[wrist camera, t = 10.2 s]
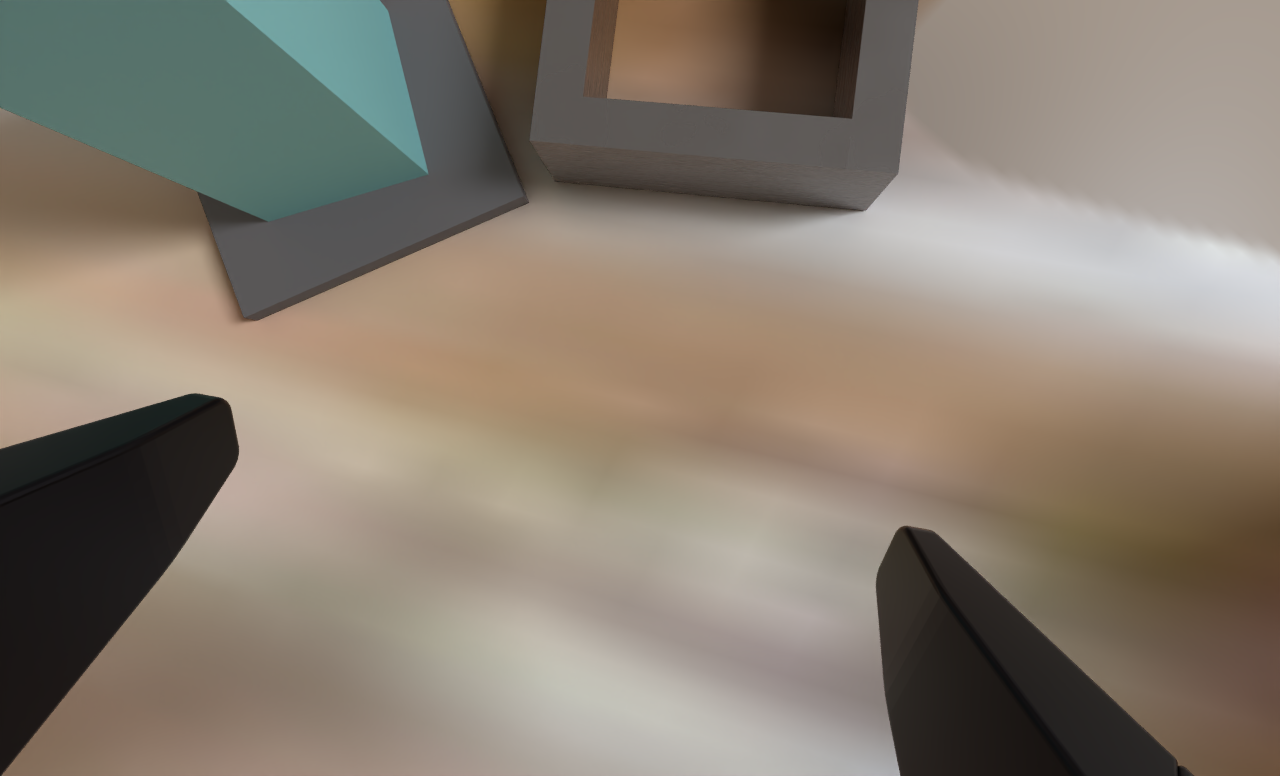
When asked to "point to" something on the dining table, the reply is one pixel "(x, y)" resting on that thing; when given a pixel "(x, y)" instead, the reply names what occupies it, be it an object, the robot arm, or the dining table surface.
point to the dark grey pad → (391, 216)
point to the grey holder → (725, 119)
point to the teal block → (221, 93)
